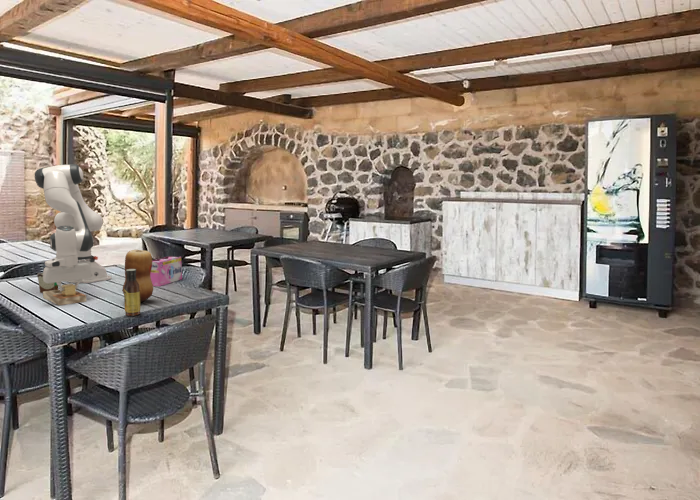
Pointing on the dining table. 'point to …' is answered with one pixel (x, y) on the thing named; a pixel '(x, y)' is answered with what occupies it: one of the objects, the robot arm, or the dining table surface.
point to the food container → (45, 284)
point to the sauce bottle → (131, 294)
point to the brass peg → (69, 290)
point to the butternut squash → (140, 271)
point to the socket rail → (58, 299)
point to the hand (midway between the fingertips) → (68, 290)
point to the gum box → (166, 270)
